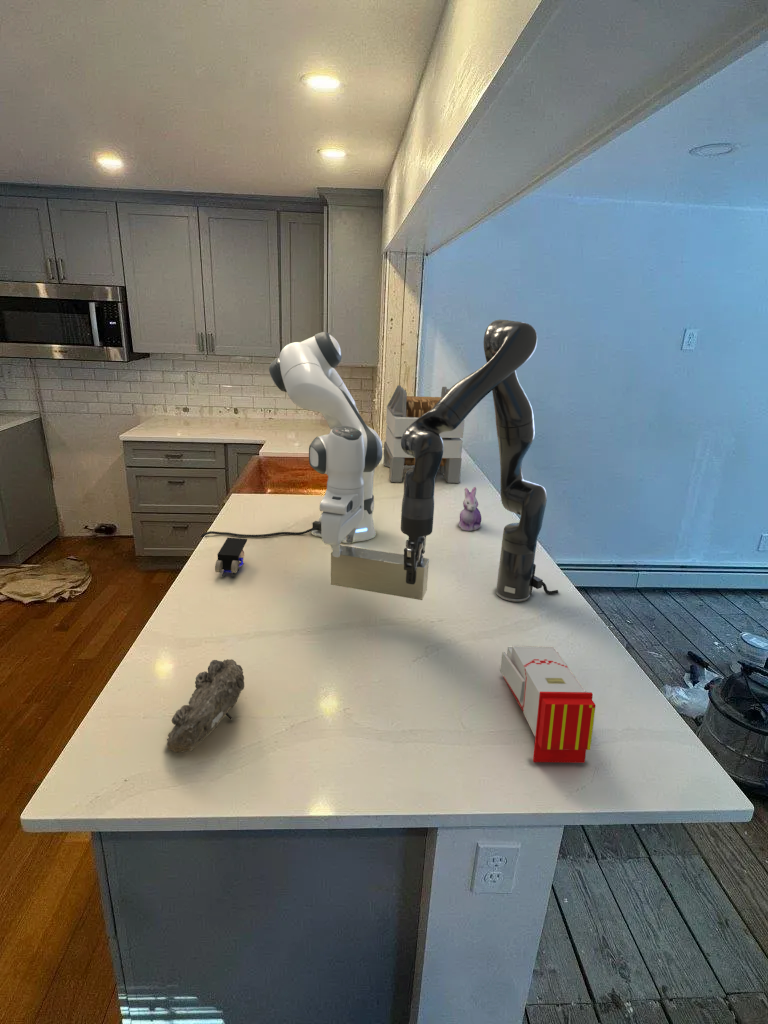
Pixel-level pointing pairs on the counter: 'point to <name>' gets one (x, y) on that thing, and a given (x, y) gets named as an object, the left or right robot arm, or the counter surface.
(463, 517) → the figurine
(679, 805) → the counter surface
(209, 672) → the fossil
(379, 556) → the bar
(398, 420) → the grey storage crate
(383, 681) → the counter surface
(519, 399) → the right robot arm
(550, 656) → the toy
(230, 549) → the toy car
